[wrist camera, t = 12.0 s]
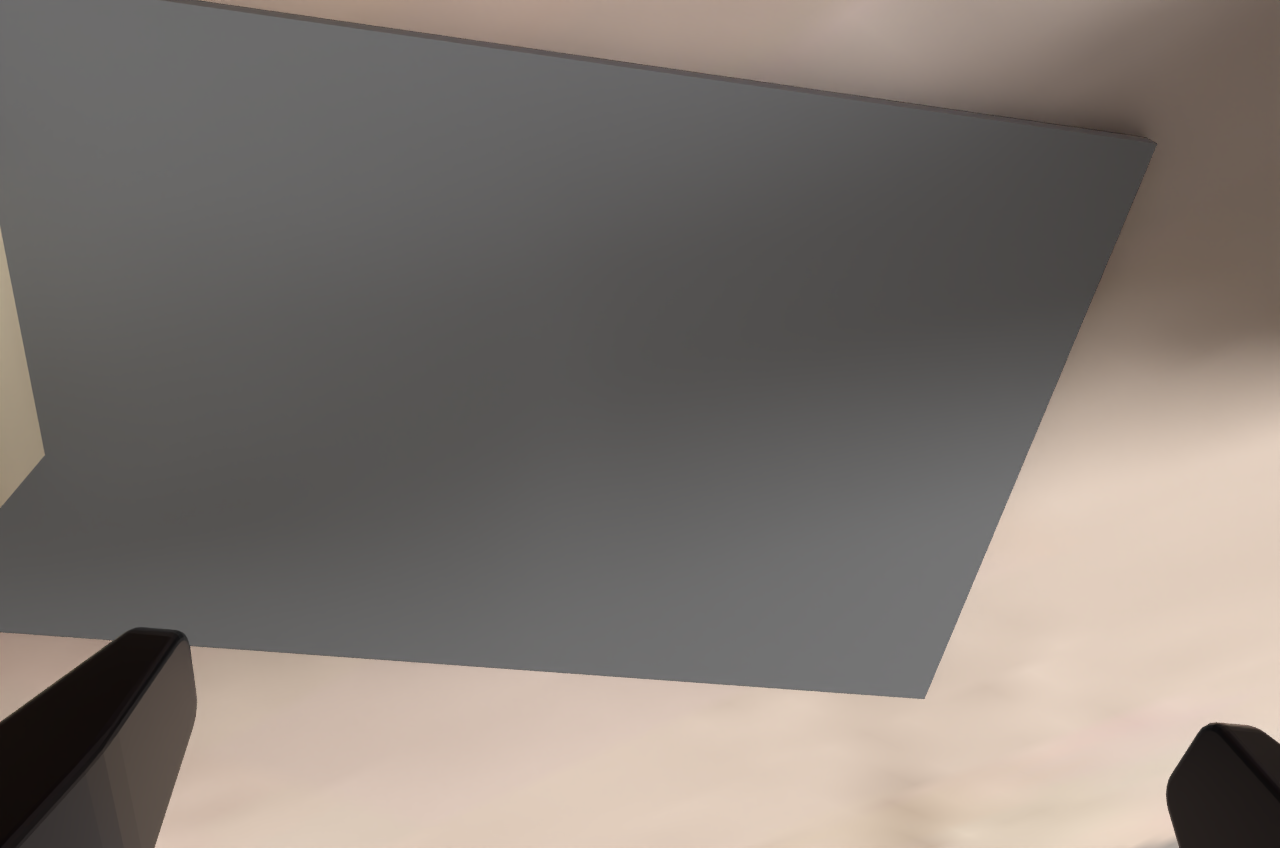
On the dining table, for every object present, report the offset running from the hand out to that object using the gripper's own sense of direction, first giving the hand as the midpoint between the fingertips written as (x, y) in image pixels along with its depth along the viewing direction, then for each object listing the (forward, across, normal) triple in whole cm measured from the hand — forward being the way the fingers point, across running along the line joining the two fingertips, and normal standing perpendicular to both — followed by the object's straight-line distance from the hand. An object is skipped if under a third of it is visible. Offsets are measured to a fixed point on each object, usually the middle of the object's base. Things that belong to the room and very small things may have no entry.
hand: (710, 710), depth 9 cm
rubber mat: (+11, +6, +4) cm, 13 cm away
